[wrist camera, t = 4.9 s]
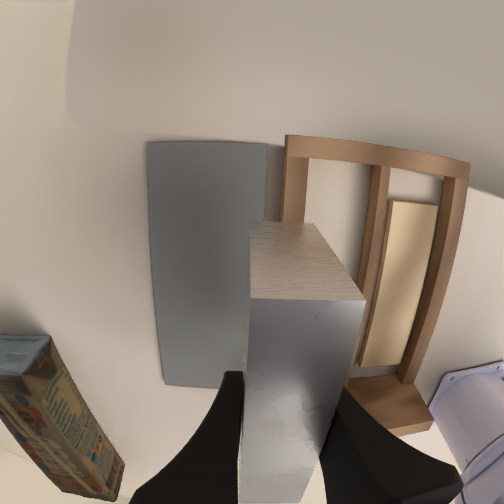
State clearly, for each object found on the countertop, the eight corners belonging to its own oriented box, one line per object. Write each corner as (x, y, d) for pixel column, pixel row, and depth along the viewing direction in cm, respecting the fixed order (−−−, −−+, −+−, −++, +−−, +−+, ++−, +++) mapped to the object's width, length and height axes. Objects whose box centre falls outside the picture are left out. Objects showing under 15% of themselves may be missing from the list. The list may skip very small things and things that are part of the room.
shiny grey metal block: (313, 223, 14) (366, 300, 7) (287, 403, 18) (299, 502, 11) (249, 220, 14) (250, 297, 7) (240, 402, 18) (238, 503, 11)
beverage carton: (55, 330, 23) (17, 379, 16) (130, 463, 29) (118, 508, 23) (-2, 330, 23) (-39, 370, 16) (75, 456, 29) (60, 495, 23)
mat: (267, 144, 18) (268, 143, 18) (252, 386, 24) (253, 389, 24) (149, 142, 18) (147, 142, 17) (166, 381, 24) (165, 384, 23)
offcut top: (432, 203, 19) (438, 206, 19) (396, 358, 24) (399, 364, 23) (389, 199, 19) (393, 201, 19) (357, 362, 24) (360, 367, 23)
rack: (458, 161, 18) (516, 173, 13) (403, 383, 25) (428, 429, 19) (285, 135, 18) (303, 132, 12) (265, 391, 24) (269, 449, 19)
